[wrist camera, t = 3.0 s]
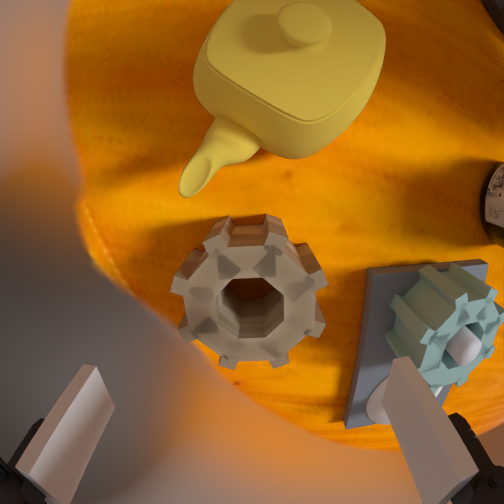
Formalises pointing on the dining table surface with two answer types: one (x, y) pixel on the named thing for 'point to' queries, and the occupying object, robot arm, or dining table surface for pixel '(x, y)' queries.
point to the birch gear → (250, 310)
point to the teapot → (282, 80)
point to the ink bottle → (493, 205)
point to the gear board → (379, 324)
